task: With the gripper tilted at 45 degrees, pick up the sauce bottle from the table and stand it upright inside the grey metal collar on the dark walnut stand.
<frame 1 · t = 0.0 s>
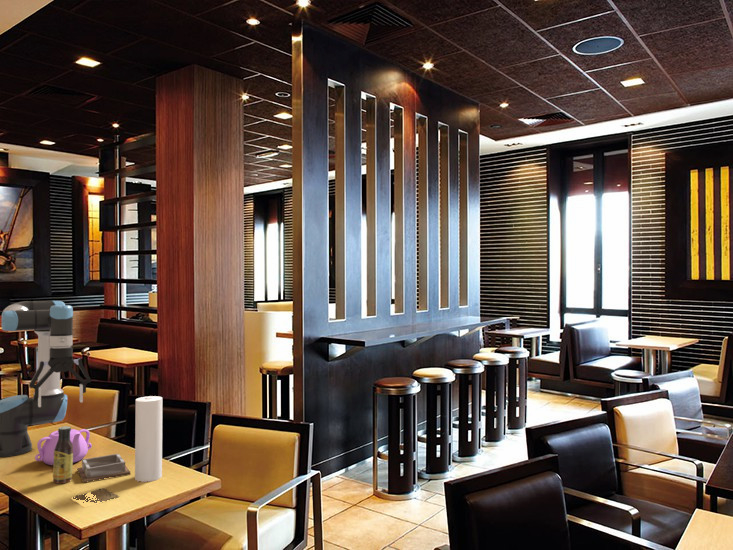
hand: (60, 404, 205), 28 cm above the table, tool pointing down, fingers open, 13 cm apart
sauce bottle: (62, 482, 203), on the table
teapot: (66, 462, 225), on the table
walnut stand: (103, 472, 213), on the table
cylinder container: (148, 477, 208), on the table
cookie: (94, 499, 188), on the table
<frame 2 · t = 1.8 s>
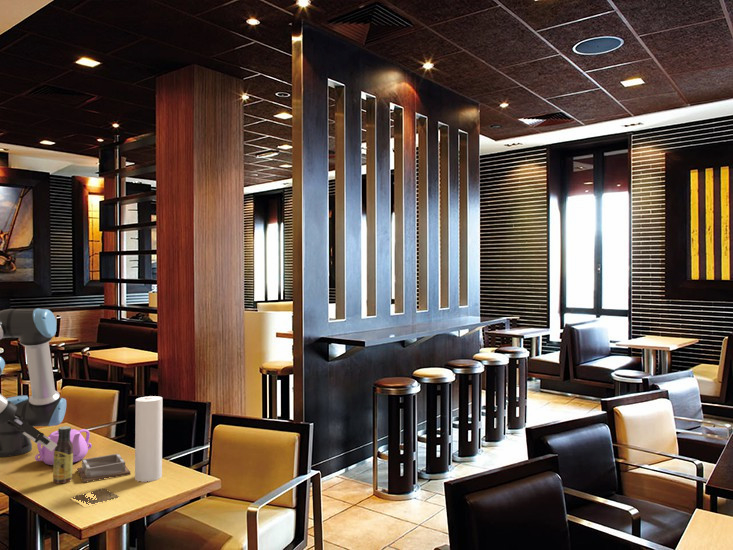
hand: (46, 444, 198), 15 cm above the table, tool tilted 45°, fingers open, 13 cm apart
nothing on the table moved.
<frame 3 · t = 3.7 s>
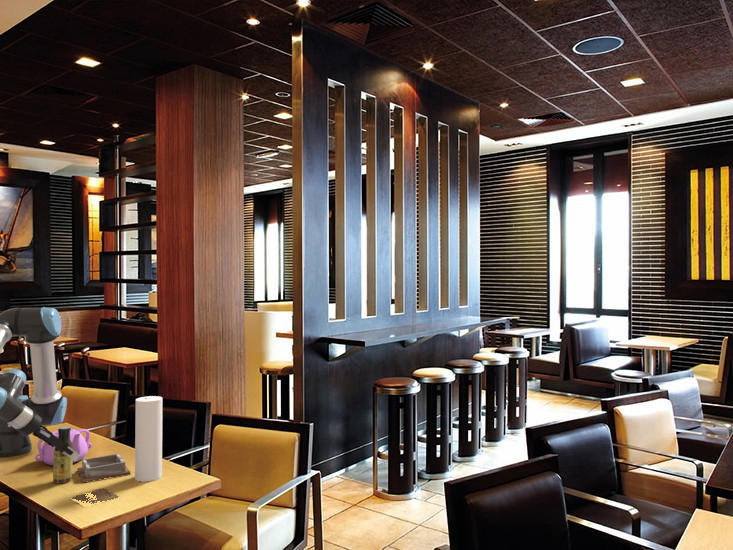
hand: (73, 456, 206), 8 cm above the table, tool tilted 45°, fingers closed on sauce bottle, 6 cm apart
sauce bottle: (62, 482, 203), on the table, touching gripper
everything else where it was.
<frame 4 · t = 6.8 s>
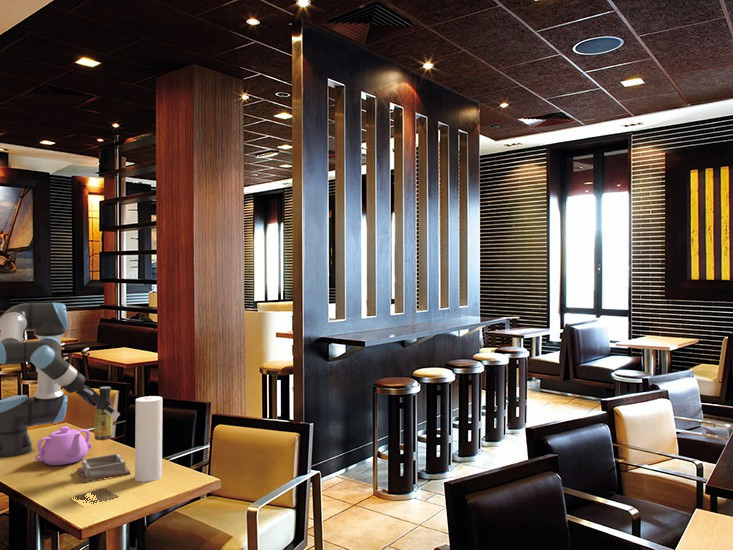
hand: (113, 415, 216), 21 cm above the table, tool tilted 45°, fingers closed on sauce bottle, 6 cm apart
sauce bottle: (103, 439, 213), point 13 cm above the table, touching gripper
everything else where it was.
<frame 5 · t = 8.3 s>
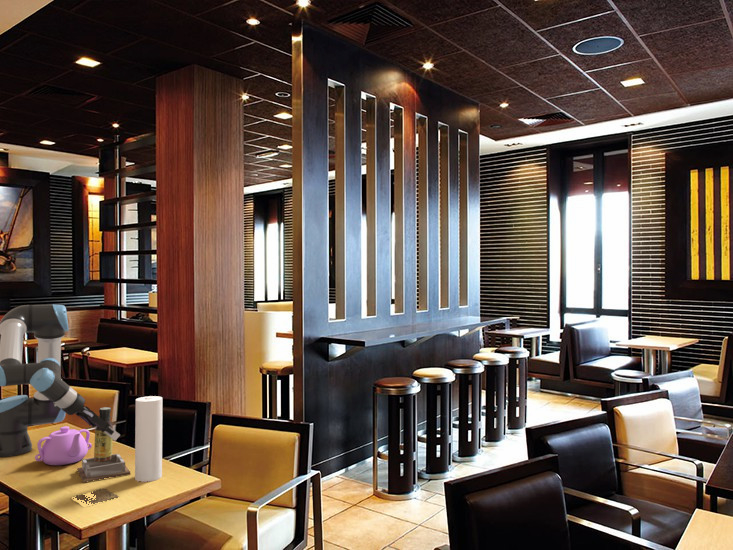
hand: (113, 436, 215), 13 cm above the table, tool tilted 45°, fingers closed on sauce bottle, 6 cm apart
sauce bottle: (103, 460, 213), point 5 cm above the table, touching gripper
everything else where it was.
when the fingers open (11 cm above the table, at t = 9.8 s): sauce bottle drops 1 cm, resting on walnut stand.
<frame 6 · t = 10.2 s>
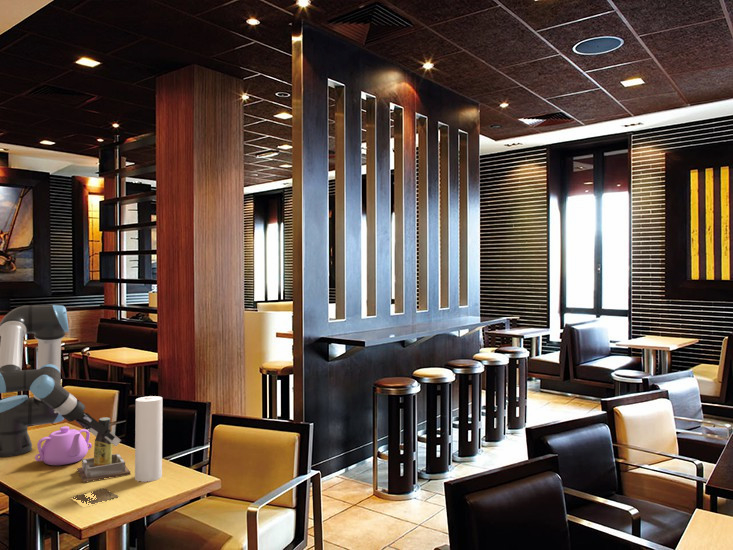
hand: (110, 440, 215), 12 cm above the table, tool tilted 45°, fingers open, 12 cm apart
sauce bottle: (102, 470, 213), point 1 cm above the table, touching walnut stand
everything else where it was.
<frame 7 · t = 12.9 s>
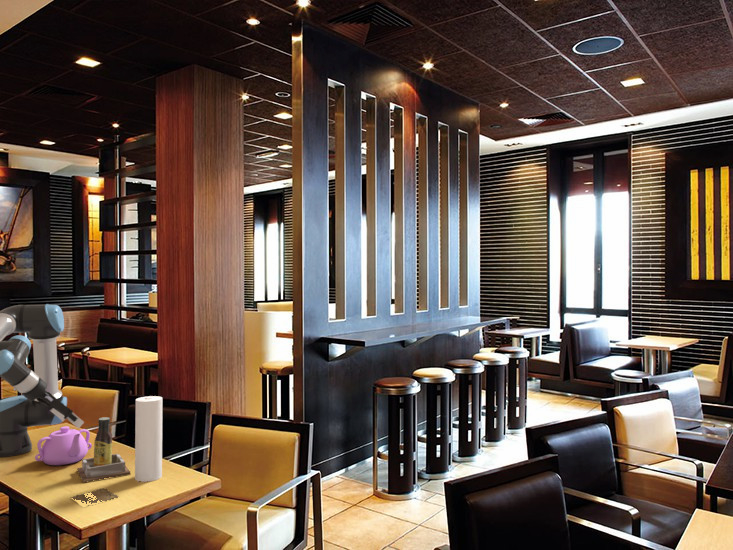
hand: (73, 421, 205), 22 cm above the table, tool tilted 45°, fingers open, 13 cm apart
nothing on the table moved.
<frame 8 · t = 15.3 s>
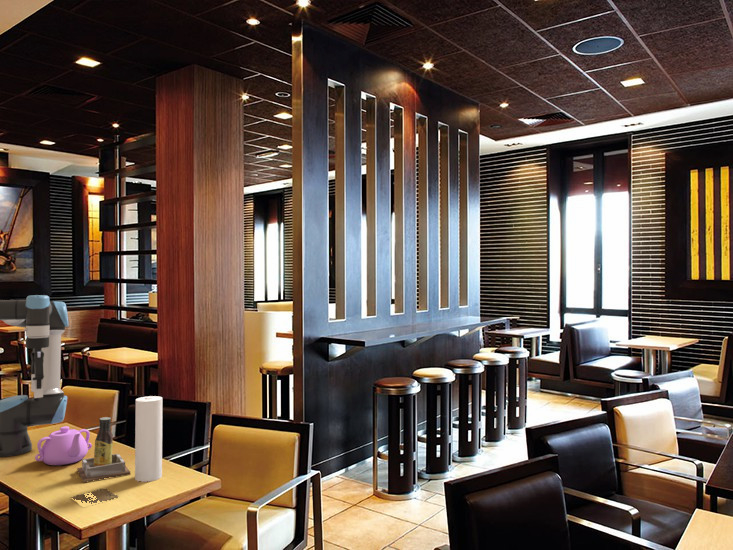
hand: (37, 394, 205), 32 cm above the table, tool pointing down, fingers open, 13 cm apart
nothing on the table moved.
at the end: sauce bottle inside the target area on the walnut stand (0.2 cm from its centre), point 0.8 cm above the walnut stand's base; sauce bottle tilted 1°; the gripper is holding nothing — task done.
